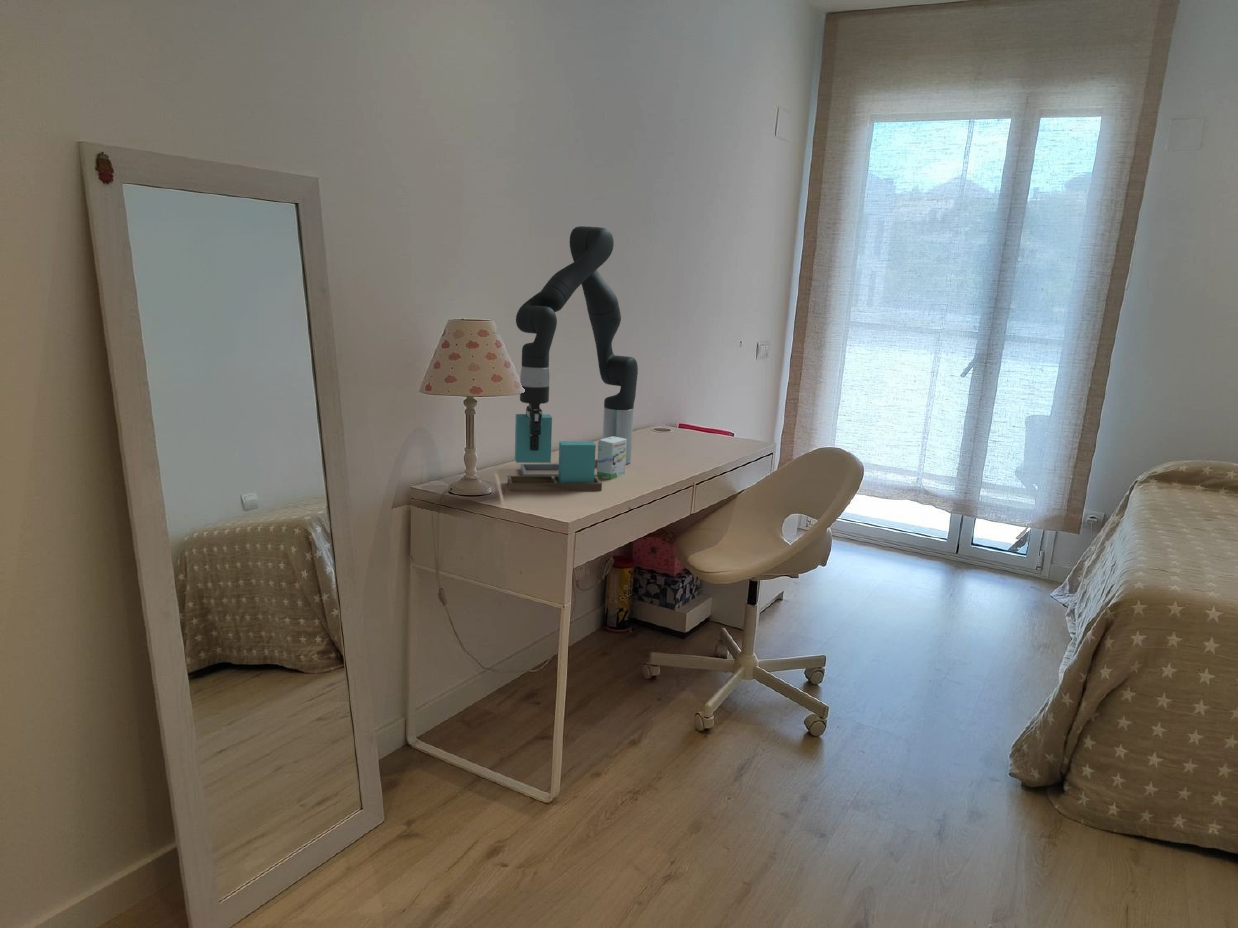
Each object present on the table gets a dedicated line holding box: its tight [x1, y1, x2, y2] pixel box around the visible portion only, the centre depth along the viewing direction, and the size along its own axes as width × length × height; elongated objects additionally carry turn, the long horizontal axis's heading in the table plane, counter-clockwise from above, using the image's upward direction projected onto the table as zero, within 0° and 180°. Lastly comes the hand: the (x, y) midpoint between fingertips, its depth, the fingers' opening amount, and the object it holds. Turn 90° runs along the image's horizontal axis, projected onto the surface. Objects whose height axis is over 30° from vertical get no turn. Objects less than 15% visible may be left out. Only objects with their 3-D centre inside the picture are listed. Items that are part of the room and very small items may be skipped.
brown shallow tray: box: [506, 474, 603, 492], centre depth 215 cm, size 9×24×3 cm, turn 102°
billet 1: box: [514, 413, 553, 464], centre depth 211 cm, size 5×9×12 cm, turn 102°
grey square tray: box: [519, 463, 559, 476], centre depth 228 cm, size 13×15×2 cm
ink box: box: [596, 436, 627, 481], centre depth 229 cm, size 8×5×12 cm, turn 150°
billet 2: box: [557, 440, 597, 483], centre depth 215 cm, size 5×9×12 cm, turn 102°
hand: (533, 447), depth 211 cm, fingers closed on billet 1, 5 cm apart
